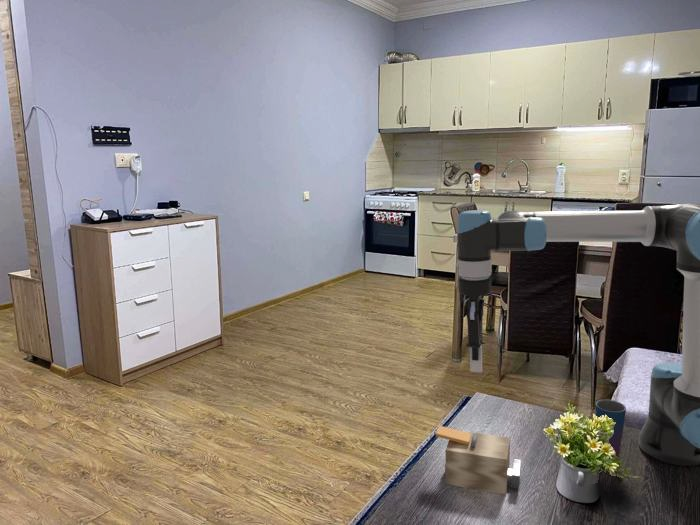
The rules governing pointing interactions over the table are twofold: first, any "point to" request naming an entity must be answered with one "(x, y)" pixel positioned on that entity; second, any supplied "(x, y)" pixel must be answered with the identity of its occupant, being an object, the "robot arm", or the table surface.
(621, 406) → the cup
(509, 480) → the white l-shaped bar
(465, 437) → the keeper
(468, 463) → the block
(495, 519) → the table surface
